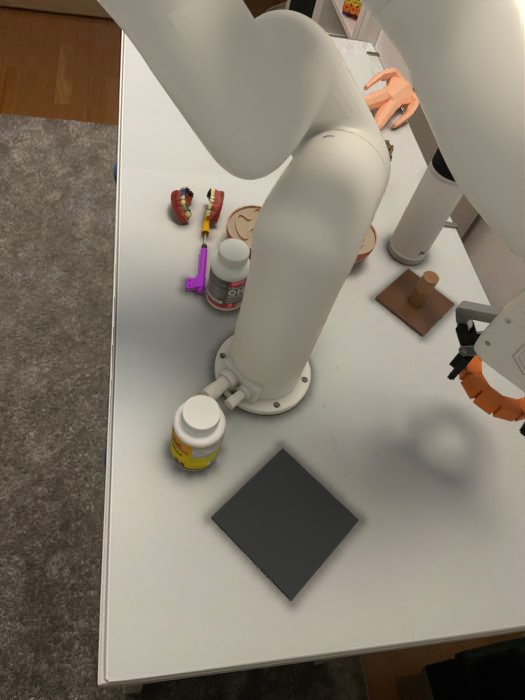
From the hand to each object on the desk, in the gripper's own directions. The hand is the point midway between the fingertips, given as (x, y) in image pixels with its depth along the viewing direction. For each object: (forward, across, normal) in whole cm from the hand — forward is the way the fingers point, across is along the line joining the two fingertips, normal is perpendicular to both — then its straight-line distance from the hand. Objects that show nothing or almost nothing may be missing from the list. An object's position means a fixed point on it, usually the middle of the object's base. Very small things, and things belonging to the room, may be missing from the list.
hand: (490, 397), depth 59 cm
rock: (+9, -42, +34) cm, 55 cm away
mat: (+14, -8, -20) cm, 26 cm away
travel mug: (+14, -22, +27) cm, 38 cm away
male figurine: (+10, -44, +43) cm, 62 cm away
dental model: (+11, -46, +9) cm, 48 cm away
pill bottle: (+14, -35, -2) cm, 37 cm away
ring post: (+14, -15, +19) cm, 28 cm away
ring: (+1, 0, +4) cm, 4 cm away
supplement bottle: (+14, -21, -22) cm, 34 cm away
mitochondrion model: (+14, -33, +12) cm, 38 cm away
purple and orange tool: (+14, -43, +1) cm, 45 cm away
